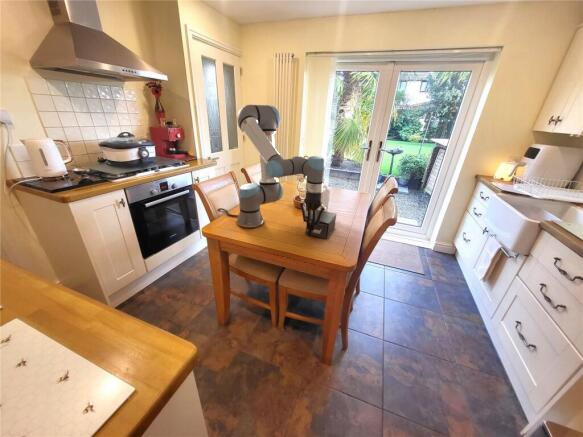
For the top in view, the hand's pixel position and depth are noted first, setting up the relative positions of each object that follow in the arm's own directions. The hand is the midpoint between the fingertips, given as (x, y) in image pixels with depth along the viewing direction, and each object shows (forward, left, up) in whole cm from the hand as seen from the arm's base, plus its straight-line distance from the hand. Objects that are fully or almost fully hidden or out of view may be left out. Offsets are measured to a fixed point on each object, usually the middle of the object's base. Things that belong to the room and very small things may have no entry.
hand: (310, 235), depth 119 cm
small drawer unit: (-8, +15, -6) cm, 18 cm away
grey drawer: (-6, +11, -5) cm, 14 cm away
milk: (-22, +27, -6) cm, 35 cm away
